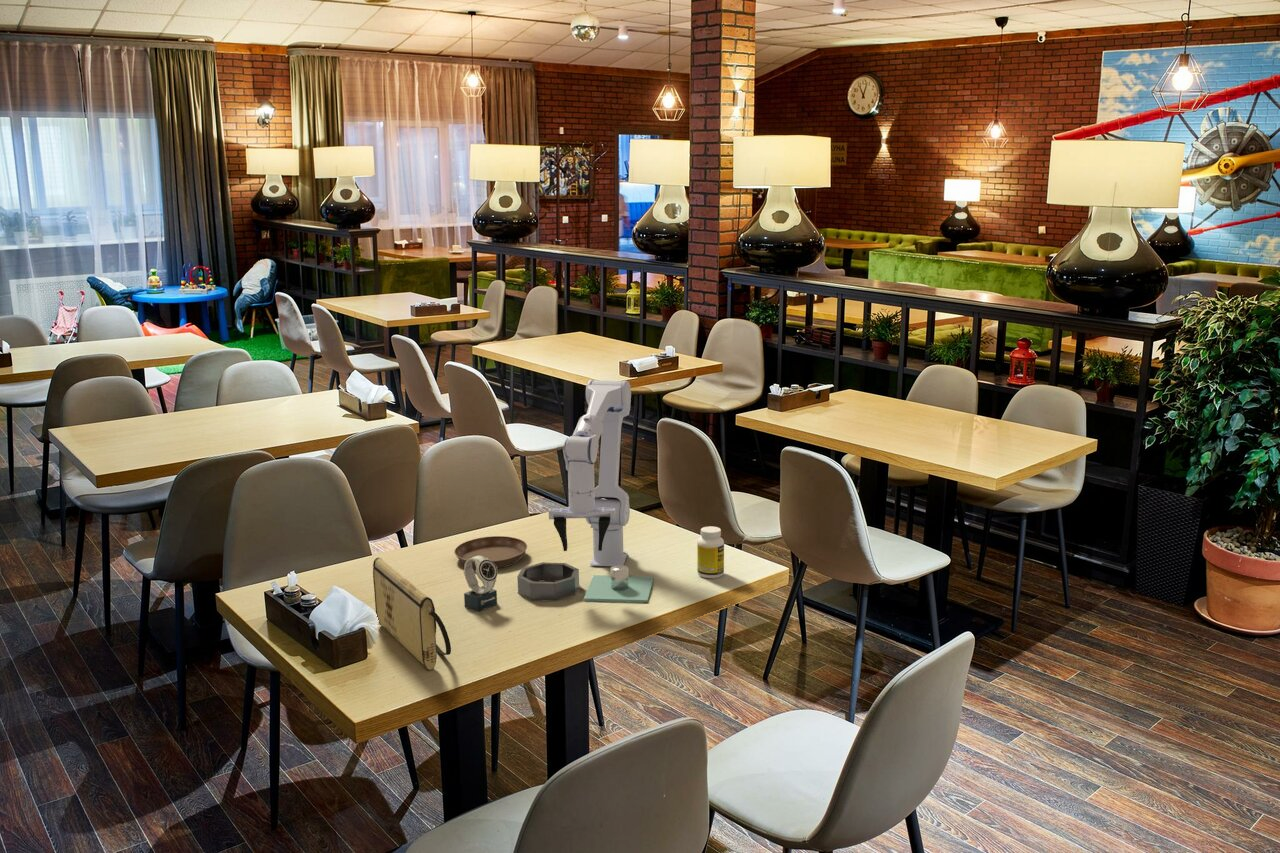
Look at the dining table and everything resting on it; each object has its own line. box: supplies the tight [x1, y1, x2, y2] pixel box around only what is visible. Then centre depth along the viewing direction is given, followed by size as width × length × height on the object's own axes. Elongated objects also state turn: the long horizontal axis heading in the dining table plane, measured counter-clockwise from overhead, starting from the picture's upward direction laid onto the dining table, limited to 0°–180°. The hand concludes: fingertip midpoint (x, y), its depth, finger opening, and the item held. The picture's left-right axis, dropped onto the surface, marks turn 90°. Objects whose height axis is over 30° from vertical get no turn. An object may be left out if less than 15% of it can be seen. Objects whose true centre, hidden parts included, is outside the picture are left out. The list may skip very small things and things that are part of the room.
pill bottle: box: [696, 525, 725, 579], centre depth 246 cm, size 6×6×11 cm
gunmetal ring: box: [517, 561, 580, 602], centre depth 239 cm, size 13×13×4 cm
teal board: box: [583, 574, 655, 603], centre depth 239 cm, size 14×14×1 cm
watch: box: [463, 556, 499, 612], centre depth 230 cm, size 6×8×11 cm
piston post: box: [609, 565, 629, 591], centre depth 238 cm, size 4×4×4 cm
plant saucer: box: [453, 535, 528, 569], centre depth 260 cm, size 18×18×3 cm
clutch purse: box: [372, 557, 452, 671], centre depth 211 cm, size 30×7×15 cm, turn 33°
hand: (582, 549), depth 235 cm, fingers open, 7 cm apart
